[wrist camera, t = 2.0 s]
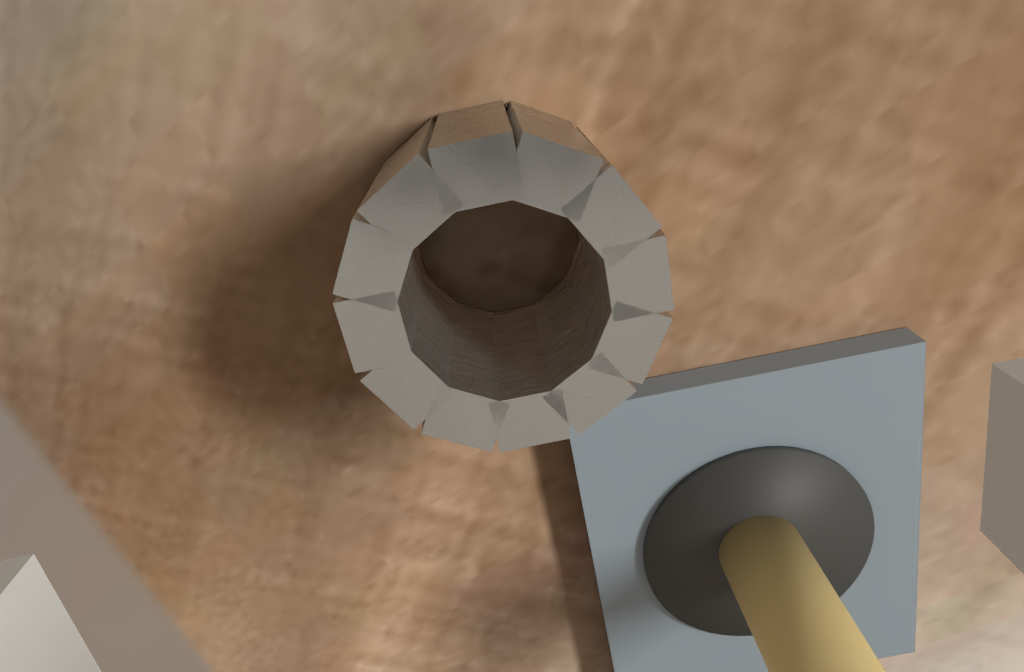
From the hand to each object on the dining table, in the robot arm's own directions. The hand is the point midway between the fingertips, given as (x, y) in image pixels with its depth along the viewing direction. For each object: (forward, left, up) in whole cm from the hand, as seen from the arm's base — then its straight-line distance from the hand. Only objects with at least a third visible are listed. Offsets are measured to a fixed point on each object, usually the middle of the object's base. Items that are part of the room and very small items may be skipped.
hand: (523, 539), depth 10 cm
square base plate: (+13, +7, -14) cm, 21 cm away
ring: (0, 0, -14) cm, 14 cm away
